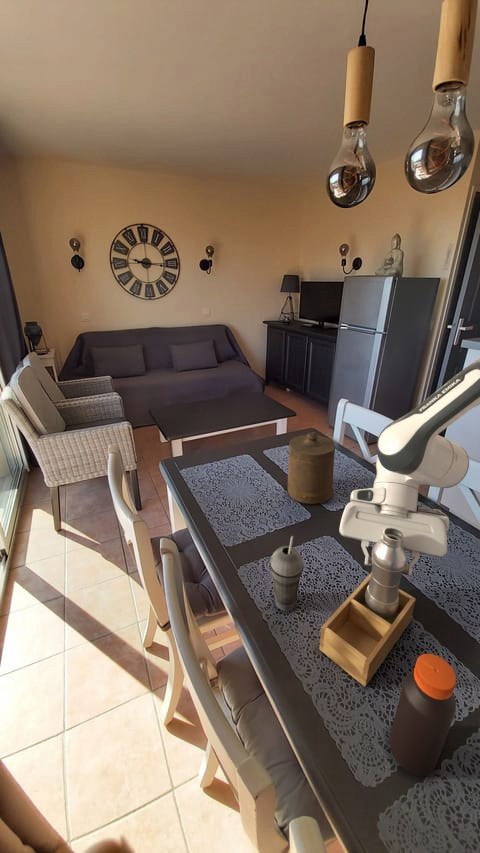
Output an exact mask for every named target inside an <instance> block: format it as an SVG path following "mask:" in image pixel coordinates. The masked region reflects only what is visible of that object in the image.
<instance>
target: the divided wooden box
mask: <svg viewBox="0 0 480 853" xmlns="http://www.w3.org/2000/svg"><path fill="white" fill-rule="evenodd" d="M371 573H372V572H370V573H369V574H368V575H367V576H366V577H365V578H364V580H362V582H360V584H359V585H358V586H357V587H356V589H354V590H353V592H351V594H350V595H349V596H348V597H347V598H346V599H345V601H343V603H342V604H341V605H340V606H339V607H338V608H337V609H336V610H335V611H334V612H333V614H332V615H331V616H329V618H328V619H327V620H326V621H325V622H324V624H323V625H322V626H320V627H321V629H320V638H319V639H320V640H319V650H320V651H321V652H322V653H323V654H324V655H325V656H327V657H328V658H329V659H330V660H331V661H332V662H334V663H335V664H336V665H338V666H339V667H340V668H341V669H342V670H344V672H346V673H347V674H348V675H349V676H351V677H352V678H353V679H355V680H356V681H357V682H358V683H359V684H360V685H361V686H363V687H364V688H366V687H367V686H368V684H369V682H370V681H371V680H372V678H373V677H374V675H375V674H376V672H377V671H378V669H379V667H380V666H381V665H382V664H383V662H384V661H385V659H386V658H387V657H388V655H389V654H390V652H391V650H392V649H393V648H394V646H395V645H396V643H397V641H398V640H399V639H400V637H401V636H402V634H403V633H404V631H405V630H406V628H407V627H408V626H409V624H410V623H411V621H412V618H413V614H414V609H415V604H416V601H417V599H416V598H415V597H414V596H412V595H410V594H409V593H407V592H405V591H404V590H402V589H400V588H399V592H398V597H399V606H398V609H397V611H396V613H395V614H394V615H392V616H390V617H380V616H378V615H376V614H375V613H373V612H372V611H371V610H370V609H369V608H368V606H367V605H366V601H365V592H366V590H367V587H368V585H369V582H370V578H371Z"/></svg>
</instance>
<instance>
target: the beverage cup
mask: <svg viewBox="0 0 480 853" xmlns="http://www.w3.org/2000/svg"><path fill="white" fill-rule="evenodd" d="M293 541H294V536H293V535H291V536H290V542H289V545H282V546H280V547H278V548H277V549H276V550H275V551H274V552H273V553H272V554H271V559H270V561H269V566H270V571H271V575H272V583H273V591H274V600H275V605H276V607H277V608H278V609H279V610H281V611H282V612H283V611H284V612H289V611H292V610H293V609H294V608H295V606H296V603H297V598H298V592H299V586H300V580H301V577H302V574H303V572H304V567H305V566H304V562H303V557H302V555H301V553H300V552H299V551H298V550H297V549H296V548H294V547H293V543H294V542H293Z"/></svg>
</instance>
